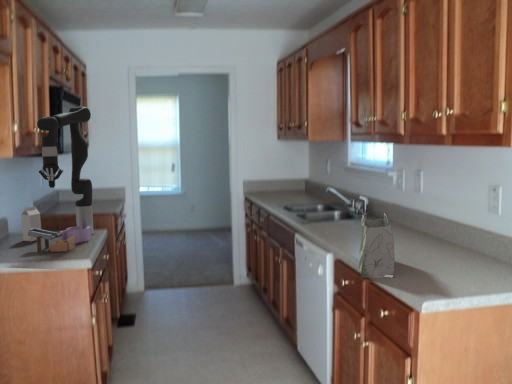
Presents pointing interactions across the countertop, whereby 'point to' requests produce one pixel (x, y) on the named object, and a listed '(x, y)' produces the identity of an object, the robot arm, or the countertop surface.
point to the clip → (77, 234)
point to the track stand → (40, 244)
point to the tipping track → (43, 234)
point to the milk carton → (30, 222)
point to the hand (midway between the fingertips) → (52, 187)
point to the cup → (63, 245)
